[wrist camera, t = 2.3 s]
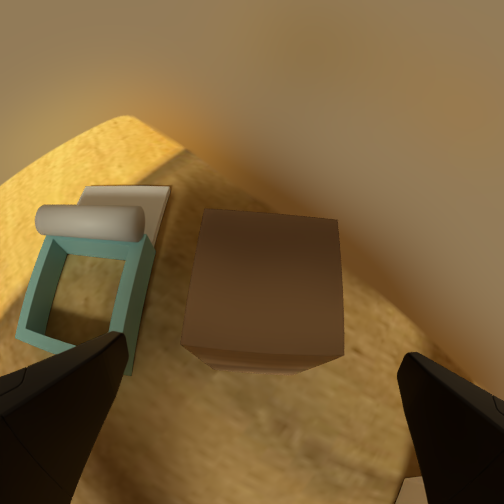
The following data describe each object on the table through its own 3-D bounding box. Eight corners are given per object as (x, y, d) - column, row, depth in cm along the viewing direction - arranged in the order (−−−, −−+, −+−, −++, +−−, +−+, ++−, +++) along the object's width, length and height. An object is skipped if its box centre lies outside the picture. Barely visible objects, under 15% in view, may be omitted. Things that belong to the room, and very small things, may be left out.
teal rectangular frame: (131, 376, 16) (97, 368, 12) (33, 345, 16) (-6, 328, 12) (173, 191, 23) (161, 149, 19) (86, 190, 24) (66, 155, 19)
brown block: (291, 375, 17) (344, 355, 8) (213, 369, 17) (180, 344, 8) (294, 301, 19) (337, 217, 10) (222, 296, 19) (204, 206, 10)
